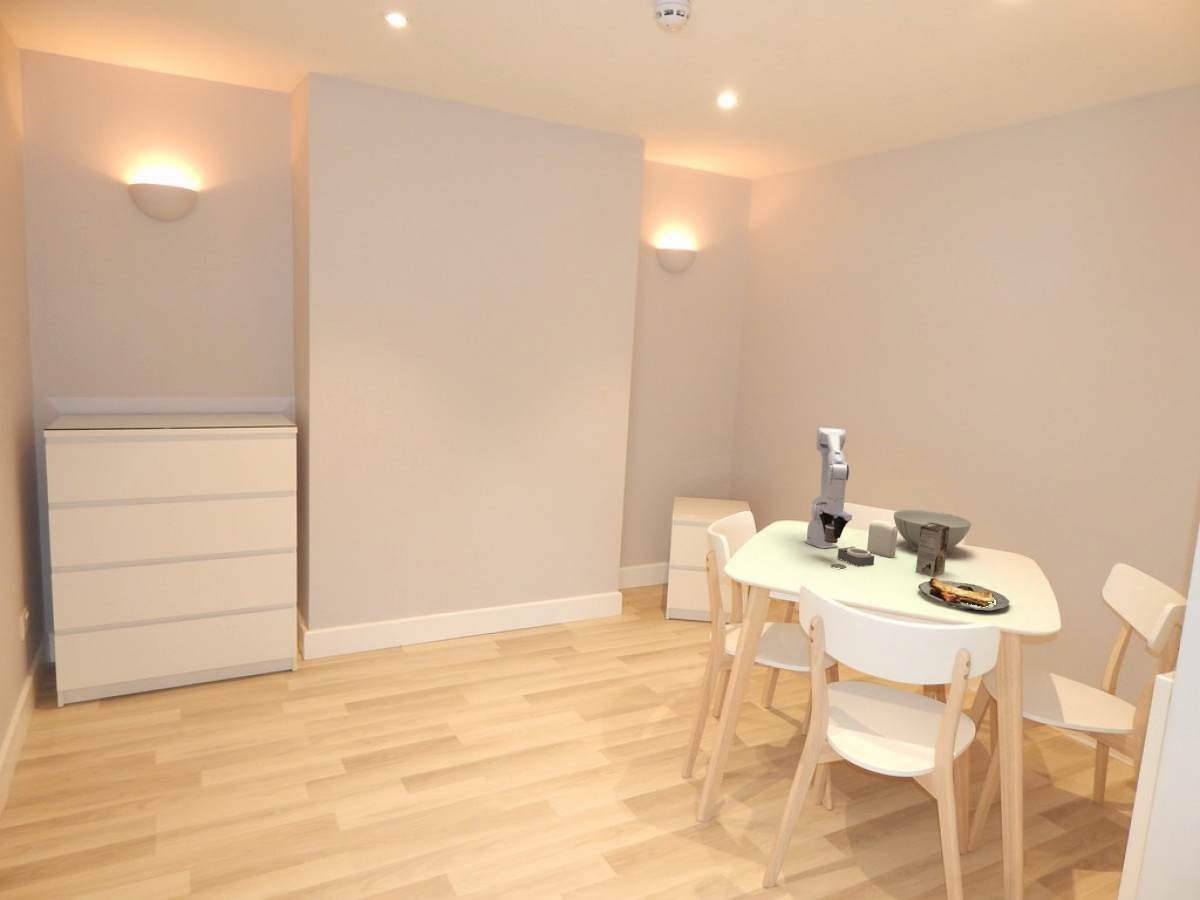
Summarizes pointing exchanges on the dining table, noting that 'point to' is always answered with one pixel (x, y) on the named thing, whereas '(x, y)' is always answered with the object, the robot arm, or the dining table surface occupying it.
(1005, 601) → the food plate
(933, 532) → the coffee box
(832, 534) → the lens
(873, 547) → the photo printer
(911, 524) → the decorative bowl
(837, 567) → the lens cap
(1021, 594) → the dining table surface
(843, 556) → the camera body
